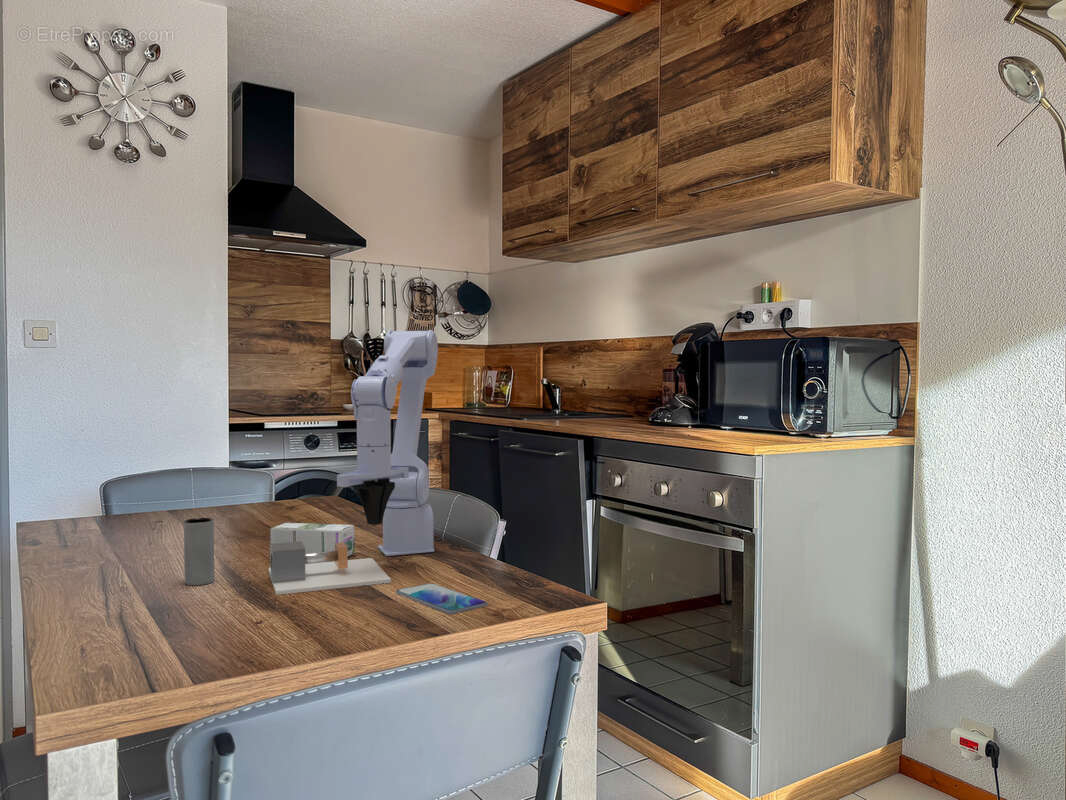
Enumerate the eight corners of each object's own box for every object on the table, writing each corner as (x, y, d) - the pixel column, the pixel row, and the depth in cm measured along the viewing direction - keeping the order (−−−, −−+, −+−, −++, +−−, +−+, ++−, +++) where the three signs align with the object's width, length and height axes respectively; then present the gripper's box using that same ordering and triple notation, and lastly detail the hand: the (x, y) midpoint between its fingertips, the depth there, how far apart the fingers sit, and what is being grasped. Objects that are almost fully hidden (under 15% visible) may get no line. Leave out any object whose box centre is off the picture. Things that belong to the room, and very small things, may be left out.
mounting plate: (371, 561, 142) (371, 557, 142) (390, 582, 127) (390, 579, 127) (268, 571, 135) (268, 567, 135) (275, 595, 120) (275, 591, 120)
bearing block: (301, 571, 132) (301, 541, 132) (305, 579, 127) (305, 548, 127) (270, 574, 130) (270, 543, 130) (273, 583, 125) (272, 551, 125)
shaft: (343, 563, 134) (343, 542, 134) (347, 568, 130) (347, 547, 130) (286, 568, 130) (286, 547, 130) (288, 574, 127) (288, 552, 127)
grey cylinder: (220, 579, 129) (219, 518, 129) (200, 586, 125) (199, 523, 125) (198, 577, 131) (197, 516, 131) (178, 584, 127) (177, 521, 126)
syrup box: (269, 558, 145) (342, 562, 142) (269, 526, 144) (342, 530, 141) (285, 550, 150) (355, 555, 147) (285, 520, 150) (355, 524, 147)
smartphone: (431, 582, 126) (489, 602, 115) (431, 587, 126) (489, 608, 115) (393, 589, 121) (450, 611, 110) (393, 595, 121) (450, 617, 110)
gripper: (389, 441, 142) (390, 515, 142) (324, 447, 130) (325, 527, 131) (416, 443, 137) (417, 519, 138) (352, 449, 126) (353, 532, 126)
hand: (374, 523), depth 134 cm, fingers closed
